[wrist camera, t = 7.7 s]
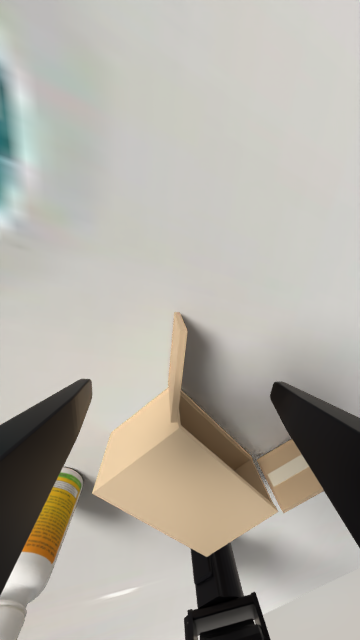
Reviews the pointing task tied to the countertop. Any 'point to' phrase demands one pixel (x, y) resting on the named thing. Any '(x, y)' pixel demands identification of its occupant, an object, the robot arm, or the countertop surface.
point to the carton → (183, 476)
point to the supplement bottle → (39, 553)
